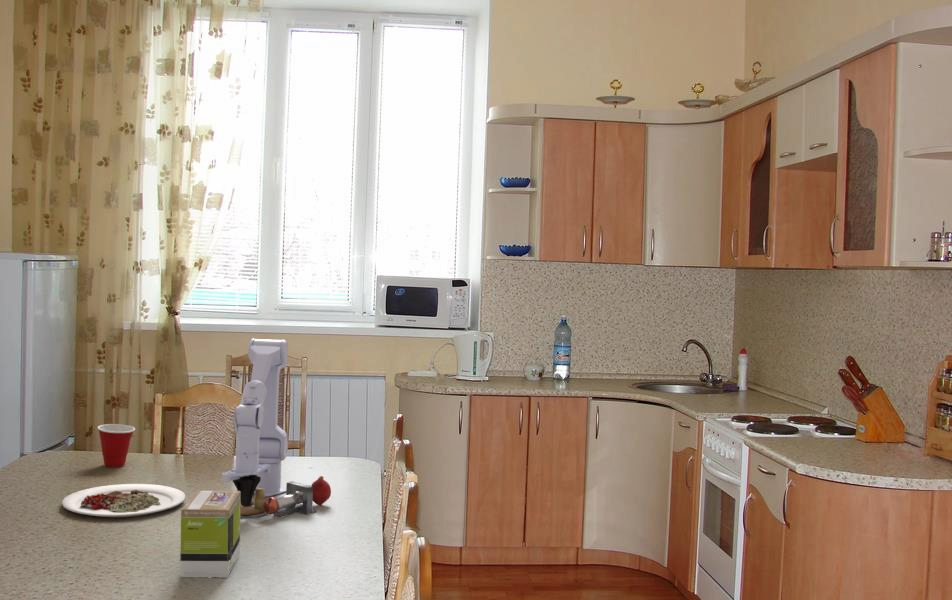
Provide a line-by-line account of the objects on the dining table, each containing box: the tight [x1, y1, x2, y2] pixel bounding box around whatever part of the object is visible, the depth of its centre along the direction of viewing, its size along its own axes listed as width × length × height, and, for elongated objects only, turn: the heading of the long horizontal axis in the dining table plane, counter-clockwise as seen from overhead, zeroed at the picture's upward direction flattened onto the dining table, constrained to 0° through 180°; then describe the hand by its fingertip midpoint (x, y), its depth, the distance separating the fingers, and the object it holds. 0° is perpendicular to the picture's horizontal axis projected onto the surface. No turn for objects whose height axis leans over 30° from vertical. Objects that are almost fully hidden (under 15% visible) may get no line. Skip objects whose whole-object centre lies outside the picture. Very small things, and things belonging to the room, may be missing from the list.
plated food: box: [61, 483, 186, 518], centre depth 238 cm, size 30×30×3 cm
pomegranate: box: [310, 475, 332, 506], centre depth 245 cm, size 6×6×8 cm
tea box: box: [179, 490, 241, 579], centre depth 195 cm, size 15×10×15 cm, turn 5°
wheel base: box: [240, 512, 268, 519], centre depth 237 cm, size 12×12×1 cm
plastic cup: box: [96, 423, 136, 468], centre depth 279 cm, size 11×11×12 cm
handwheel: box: [240, 488, 265, 515], centre depth 236 cm, size 10×10×6 cm
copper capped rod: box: [263, 491, 303, 515], centre depth 236 cm, size 4×13×4 cm, turn 147°
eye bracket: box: [273, 481, 317, 518], centre depth 237 cm, size 9×10×7 cm
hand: (245, 505), depth 230 cm, fingers closed
